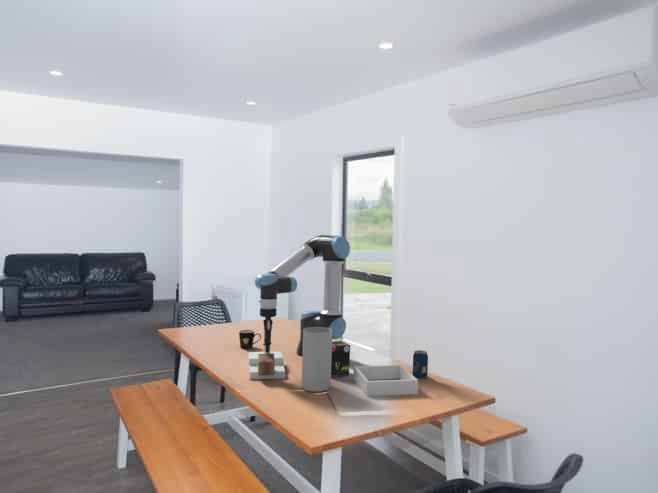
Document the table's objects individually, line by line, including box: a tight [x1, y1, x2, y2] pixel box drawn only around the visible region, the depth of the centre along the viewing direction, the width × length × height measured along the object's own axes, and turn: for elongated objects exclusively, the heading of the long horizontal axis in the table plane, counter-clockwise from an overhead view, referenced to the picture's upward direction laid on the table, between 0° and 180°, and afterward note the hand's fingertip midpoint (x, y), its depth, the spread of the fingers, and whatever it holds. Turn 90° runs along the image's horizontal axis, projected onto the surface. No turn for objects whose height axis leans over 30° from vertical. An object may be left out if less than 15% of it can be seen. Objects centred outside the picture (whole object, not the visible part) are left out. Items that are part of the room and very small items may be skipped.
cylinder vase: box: [301, 327, 333, 393], centre depth 207 cm, size 12×12×25 cm
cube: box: [258, 353, 275, 376], centre depth 217 cm, size 7×7×7 cm
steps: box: [247, 351, 286, 380], centre depth 229 cm, size 16×23×6 cm
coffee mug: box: [238, 329, 262, 350], centre depth 269 cm, size 12×9×10 cm
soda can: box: [412, 350, 429, 380], centre depth 226 cm, size 7×7×12 cm
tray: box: [352, 364, 419, 397], centre depth 211 cm, size 22×22×6 cm
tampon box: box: [331, 340, 351, 379], centre depth 227 cm, size 11×9×15 cm
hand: (266, 358), depth 221 cm, fingers closed
